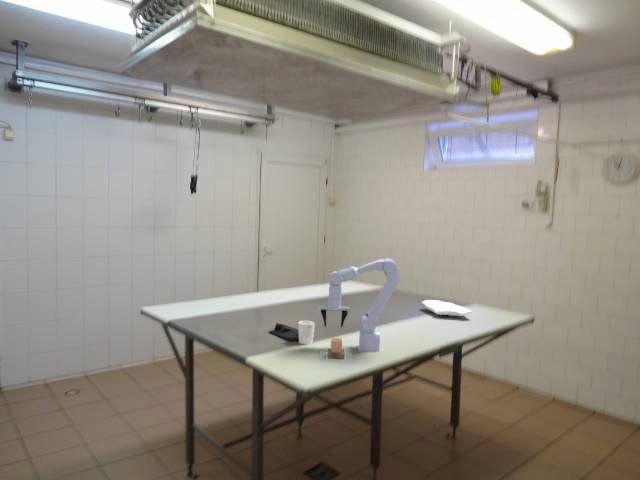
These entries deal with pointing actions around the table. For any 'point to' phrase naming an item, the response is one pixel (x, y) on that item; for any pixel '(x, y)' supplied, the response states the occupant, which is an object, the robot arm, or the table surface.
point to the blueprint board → (325, 359)
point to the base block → (335, 354)
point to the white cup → (306, 332)
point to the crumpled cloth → (445, 308)
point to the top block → (336, 345)
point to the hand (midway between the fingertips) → (333, 326)
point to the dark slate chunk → (285, 332)
